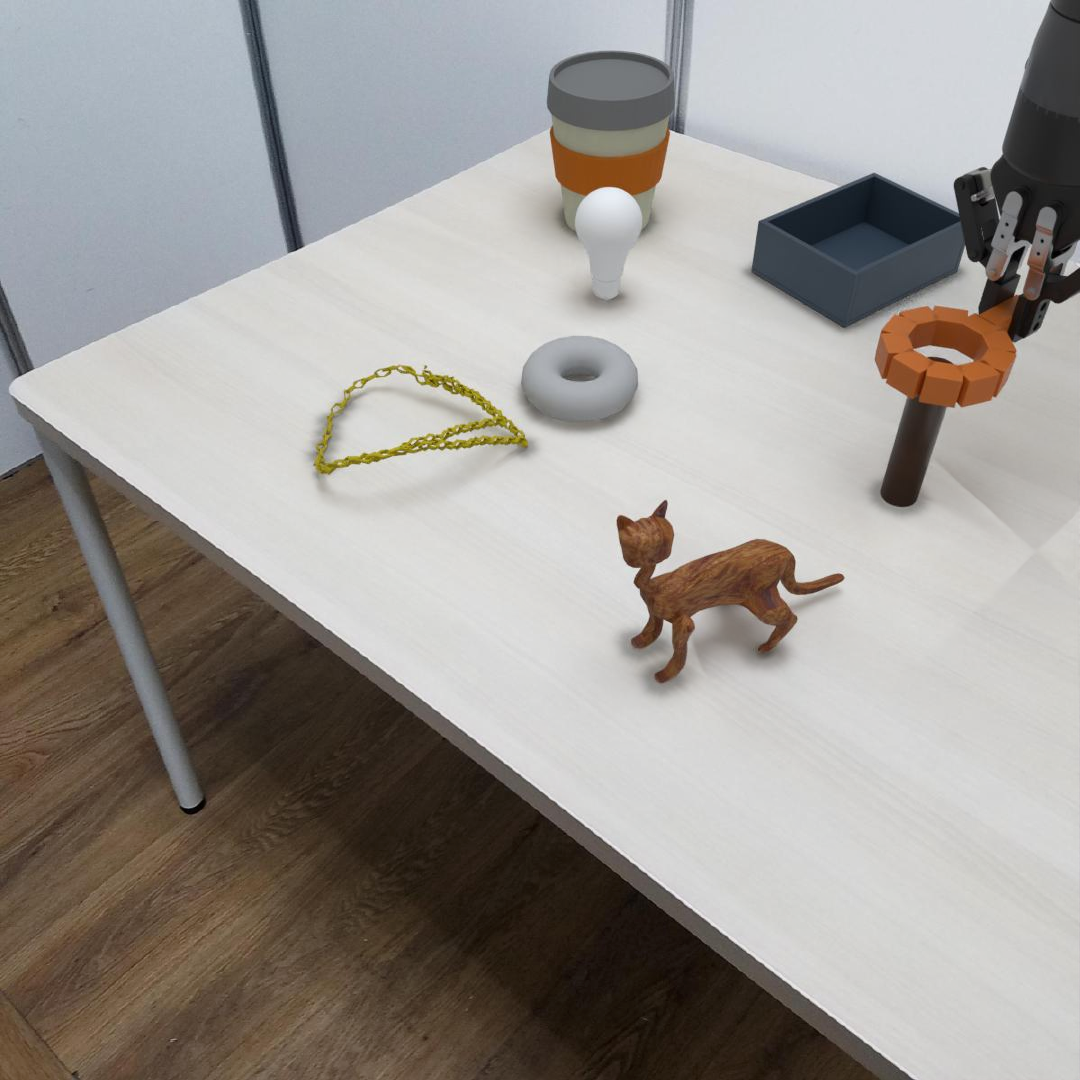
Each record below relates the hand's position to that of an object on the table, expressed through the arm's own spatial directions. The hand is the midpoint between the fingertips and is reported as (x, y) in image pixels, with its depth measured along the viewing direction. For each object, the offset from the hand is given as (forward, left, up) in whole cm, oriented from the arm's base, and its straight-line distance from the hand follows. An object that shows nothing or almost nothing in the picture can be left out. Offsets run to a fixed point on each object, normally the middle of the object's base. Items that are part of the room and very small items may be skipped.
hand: (1004, 329), depth 77 cm
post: (+7, +3, -12) cm, 14 cm away
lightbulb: (+22, -29, -12) cm, 38 cm away
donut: (+28, -15, -12) cm, 34 cm away
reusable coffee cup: (+18, -44, -12) cm, 49 cm away
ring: (+4, +2, 0) cm, 5 cm away
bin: (-3, -28, -12) cm, 31 cm away
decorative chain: (+42, -12, -12) cm, 45 cm away
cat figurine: (+24, +13, -12) cm, 30 cm away
